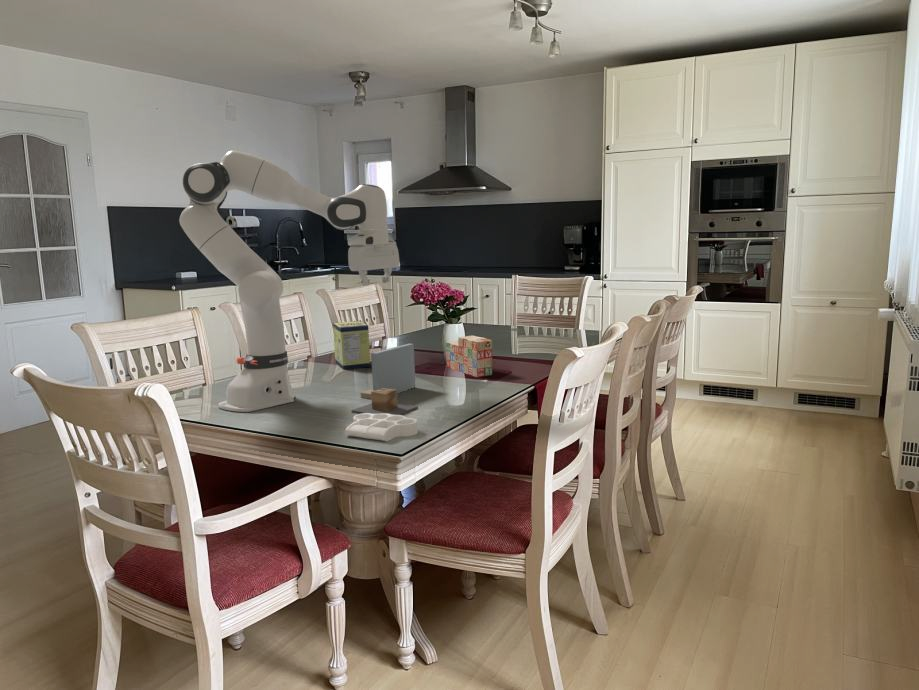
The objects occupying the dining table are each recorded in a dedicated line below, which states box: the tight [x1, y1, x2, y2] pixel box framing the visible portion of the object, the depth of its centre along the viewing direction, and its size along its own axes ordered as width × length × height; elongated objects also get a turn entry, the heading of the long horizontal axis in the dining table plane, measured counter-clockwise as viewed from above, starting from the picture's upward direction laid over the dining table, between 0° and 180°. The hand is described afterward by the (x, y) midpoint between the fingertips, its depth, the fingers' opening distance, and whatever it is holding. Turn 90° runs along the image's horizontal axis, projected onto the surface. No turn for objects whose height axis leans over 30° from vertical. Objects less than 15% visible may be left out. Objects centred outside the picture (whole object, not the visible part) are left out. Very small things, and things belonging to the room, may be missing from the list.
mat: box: [351, 402, 419, 416], centre depth 187 cm, size 12×14×1 cm
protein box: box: [332, 320, 371, 370], centre depth 252 cm, size 10×16×16 cm
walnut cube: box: [371, 388, 398, 411], centre depth 187 cm, size 5×5×5 cm
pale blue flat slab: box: [360, 343, 416, 400], centre depth 207 cm, size 18×7×14 cm, turn 147°
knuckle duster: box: [344, 413, 419, 442], centre depth 168 cm, size 3×18×15 cm
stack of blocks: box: [445, 334, 493, 378], centre depth 235 cm, size 21×6×12 cm, turn 31°
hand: (376, 284), depth 208 cm, fingers open, 8 cm apart
